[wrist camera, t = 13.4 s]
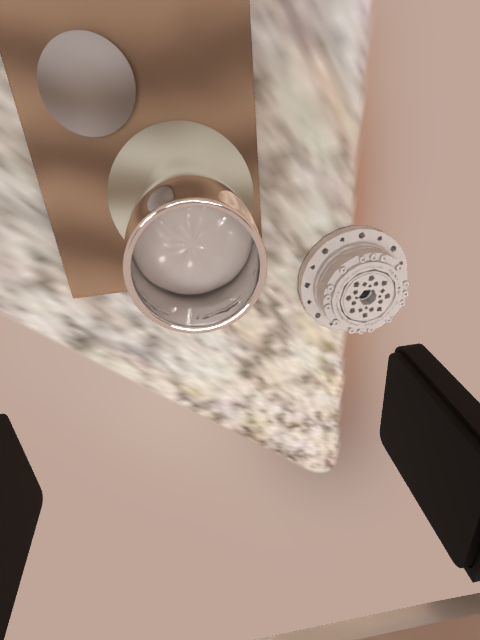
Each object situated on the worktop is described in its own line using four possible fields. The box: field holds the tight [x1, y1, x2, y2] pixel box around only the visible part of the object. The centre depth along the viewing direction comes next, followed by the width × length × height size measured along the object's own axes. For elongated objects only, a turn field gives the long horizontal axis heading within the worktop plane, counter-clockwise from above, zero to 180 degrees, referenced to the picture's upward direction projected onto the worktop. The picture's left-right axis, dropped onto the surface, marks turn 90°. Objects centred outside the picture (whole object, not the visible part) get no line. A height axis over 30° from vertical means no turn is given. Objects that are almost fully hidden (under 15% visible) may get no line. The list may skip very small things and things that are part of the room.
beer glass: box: [123, 155, 267, 333], centre depth 26 cm, size 7×7×15 cm
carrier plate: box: [0, 0, 262, 298], centre depth 31 cm, size 20×16×2 cm
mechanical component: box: [298, 226, 409, 334], centre depth 38 cm, size 10×4×10 cm
